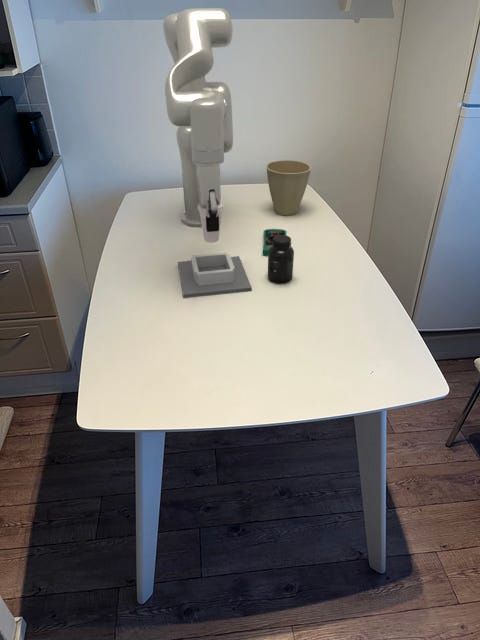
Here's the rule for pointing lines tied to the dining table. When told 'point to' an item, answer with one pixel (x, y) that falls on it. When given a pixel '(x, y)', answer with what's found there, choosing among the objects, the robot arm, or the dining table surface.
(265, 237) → the digital multimeter
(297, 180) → the plant pot
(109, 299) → the dining table surface
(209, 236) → the smoothie
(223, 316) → the dining table surface
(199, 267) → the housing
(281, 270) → the supplement bottle
